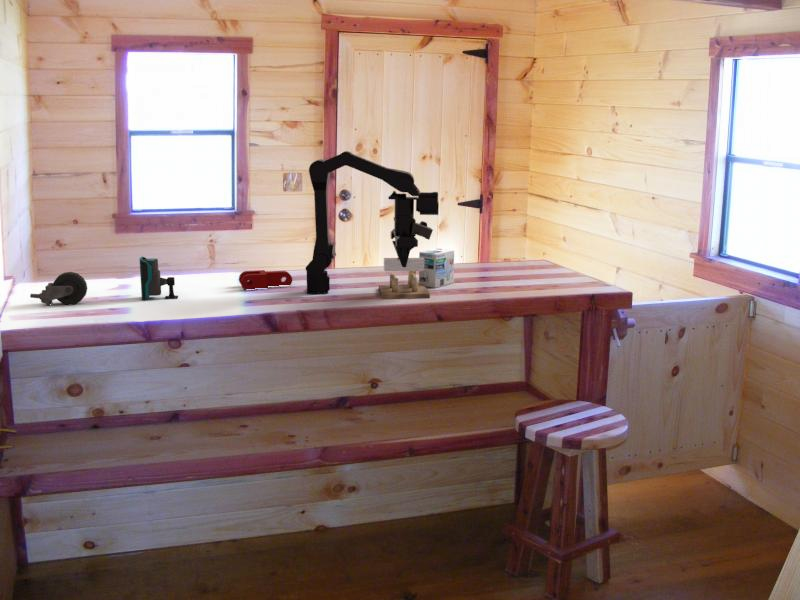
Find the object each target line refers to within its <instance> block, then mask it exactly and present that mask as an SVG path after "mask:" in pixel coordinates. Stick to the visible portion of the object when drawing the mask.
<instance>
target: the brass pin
mask: <svg viewBox="0 0 800 600" xmlns="http://www.w3.org/2000/svg"><path fill="white" fill-rule="evenodd" d="M416 273H417V271H407V285H409V274H415V278H417V275H416Z"/></svg>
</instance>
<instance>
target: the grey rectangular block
mask: <svg viewBox="0 0 800 600" xmlns="http://www.w3.org/2000/svg"><path fill="white" fill-rule="evenodd" d="M424 265H425V259H424V258H419V257H408V261H407V265H406V267H402V265H401V262H400V259H399V258H398V257H384V258H383V270H384V272H408V271H416V272H419V271H424Z"/></svg>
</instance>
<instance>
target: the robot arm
mask: <svg viewBox="0 0 800 600" xmlns="http://www.w3.org/2000/svg"><path fill="white" fill-rule="evenodd" d="M344 166H347V167H349V168H352V169H354V170H356V171H359V172H362V173H365V174H367V175H368V176H372V177H374V178H377V179H379V180H381V181H383V182H385V183H386V184H387V185H389V186H390V187H392V188H394V189H396V190H397V191H398V192H400V193H397V192H396V191H395V190H393V191H392V193H391V194H390V195H388V196H387V197H388V198H387V199H388V200H394V216H393V221H394V223H393V226H394V227H393V229H392V230H391V231H390V240H392V244H393V246H394V247H393V248H394V249H395V252H396V256H397V258H399V259H400V262H401V265H402V267H406V265H407V261H408V258H410V257H409V256H410V252H411V250H412V249H415V248H418V246H419V240H418V239H417V238H416V236H418V237H419V236H420V237H423V238H424V239H426V240H429V241H430V239H431V236H432V234H433V231H434V229H432V228H431V227H430V226H428V222H426V221H423V220H422V221H420V222H416V218H415V217H414V213H415V212H417V213H419V215H422V216H423V215H425V216H439V207H440V206H439V203H440V202H439V191H432V192H431V191H430V192H423V191H420V188H418V187H417V185H416V184H415V177H414V175H413V174H412V173H411V172H410V171H405V170H400V169H395V168H389V167H386V166H383V165H381V164H379V163H376V162H374V161H371V160H368V159H366V158H364V157H361V156H359V155H356V154H354V153H352V152H351V151H348V150H346V151H342V152H341V153H340V154H337V155H335V156H333V157H330V158H328V159H326V160H325V159H322V158H321V159H317V160H314V161H313V162H312V163H311V164H310V165H309V168H308V172H309V178H310V182H311V185H312V189H313V191H314V193H313V195H314V217H315V221H314V222H315V241H314V245H313V246H314V248H313V251H312V252H313V253H312V259H311V261H309V262H308V264H307V265H306V266H305V271H306V289H305V290H306V294H309V295H311V294H316V295H317V294H329V291H330V289H331V288H330V284H331V283H330V279H331V278H330V275H329V274H328V270H327V269H328V268H329V266H331V264H332V263H333V261H334V260H335V257H336V256H337V253H336V250H335V249H336V241H335V242H331V237H330V225H329V223H330V222H329V221H330V220H329V200H328V199H329V198H328V197H329V196H328V195H329V193H328V189H329V184H330V180H331V172H334V171H336V170H339V169H340V168H343V167H344ZM407 193H408V194H409V195H410V196H407ZM414 210H415V212H414ZM393 239H394V240H393Z"/></svg>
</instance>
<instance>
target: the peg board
mask: <svg viewBox="0 0 800 600" xmlns="http://www.w3.org/2000/svg"><path fill="white" fill-rule="evenodd" d="M378 291H379V293H380V296H381V297H382V299H431V298H430V297H431V293H430V291H429V290H428V289H427V286H424V285H419V277H416V278H415V274H409V285H408V284H399V278H398V277H397V275H396V273H390V274H389V284H379V285H378Z"/></svg>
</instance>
